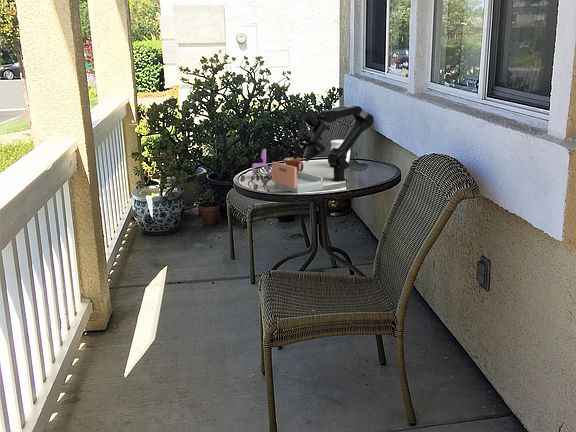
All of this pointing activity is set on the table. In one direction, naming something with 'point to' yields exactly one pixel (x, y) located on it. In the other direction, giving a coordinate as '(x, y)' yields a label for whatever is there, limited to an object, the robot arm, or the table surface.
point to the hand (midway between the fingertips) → (299, 160)
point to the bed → (305, 183)
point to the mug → (294, 163)
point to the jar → (337, 144)
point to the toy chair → (261, 163)
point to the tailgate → (284, 174)
